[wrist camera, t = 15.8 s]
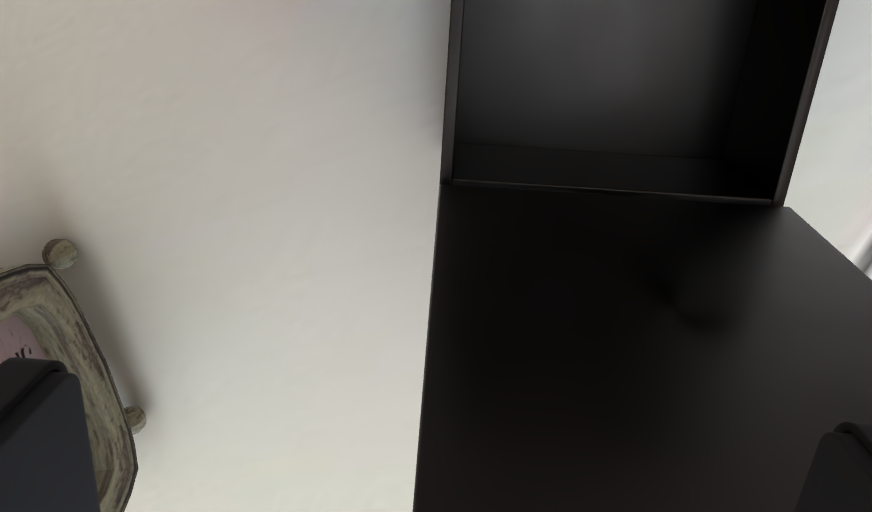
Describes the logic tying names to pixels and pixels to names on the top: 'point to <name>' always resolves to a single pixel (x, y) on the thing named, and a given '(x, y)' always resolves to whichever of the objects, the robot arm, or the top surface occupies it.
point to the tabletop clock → (71, 363)
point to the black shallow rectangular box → (632, 96)
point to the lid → (633, 354)
